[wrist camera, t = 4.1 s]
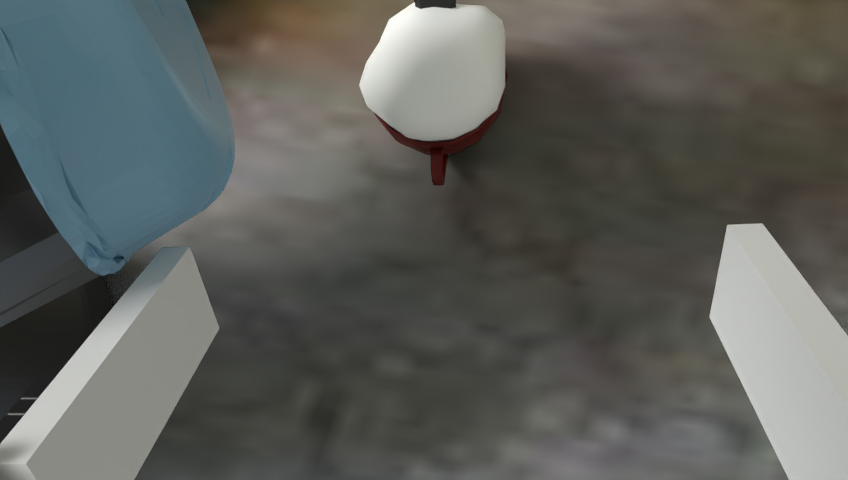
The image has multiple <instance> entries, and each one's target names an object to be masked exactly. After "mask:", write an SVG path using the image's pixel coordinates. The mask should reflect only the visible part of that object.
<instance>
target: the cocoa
mask: <svg viewBox="0 0 848 480" xmlns="http://www.w3.org/2000/svg"><path fill="white" fill-rule="evenodd" d="M414 1H415V3H412V4H411V5H409V6H408V7H407V8H405V9H404V10H402V11H401V12H399V13H398V14H396V15H395V16H393V17H392V18H391V19H389V21H388V23H387V26H386V28H385V30H384V33H383V35H382V37H381V39H380V42H379V43H378V45H377V47H376V48H375V50H374V51H373V53H372V54H371V56H370V57H369V59H368V61H367V62H366V65H365V68H364V71H363V74H362V78H361V81H360V84H359V86H360V89H361V91H362V94H363V97H364V100H365V103H366V105H367V107H369V108H370V109H371V110H372V111H373V112H374V114H375V115H376V117H377V118H378V120H379V121H380V122H381V123H382V124H383V126H384V127H385V128H386V129H387V130H388V131H389V133H390V134H391V135H392V136H393V137H394V139H395V140H396V141H398V142H399V143H401V144H403V145H406V146H408V147H410V148H413V149H415V150H417V151H420V152H422V153H424V154H427V155H431V176H432V182H433V185H443V184H444V180H445V172H446V164H447V157H448V154H455V153H457V152H459V151H461V150H463V149H465V148H467V147H469V146H471V145H473V144H475V143H477V142H478V141H479V140H480V139H481V137H482V136H483V135H484V134H485V132H486V131H487V130H488V129H489V127H490V126H491V125H492V124H493V122H494V121H495V120H496V119H497V117H498V115H499V114H500V110H501V105H502V101H503V96H504V92H505V87H506V81H507V72H506V68H505V31H504V26H503V21H502V20H501V19H500V18H498V17H497V16H496V15H495V14H494V13H493V12H491V11H490V10H489V9H488V8H487V7H486V6H479V5H464V4H457V3H456V0H414Z"/></svg>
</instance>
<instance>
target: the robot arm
mask: <svg viewBox="0 0 848 480" xmlns="http://www.w3.org/2000/svg"><path fill="white" fill-rule="evenodd" d="M234 155H235V142H234V134H233V128H232V122H231V117H230V113H229V110H228V106H227V103H226V99H225V96H224V93H223V90H222V87H221V84H220V82H219V79H218V76H217V74H216V71H215V68H214V66H213V63H212V61H211V58H210V56H209V54H208V51H207V49H206V47H205V44H204V42H203V39H202V37H201V35H200V32H199V30H198V28H197V25H196V23H195V21H194V18H193V16H192V14H191V11H190V9H189V7H188V5H187V3H186V1H185V0H0V480H134V479H135V478H136V476H137V474H138V472H139V470H140V469H141V467H142V465H143V463H144V462H145V460H146V458H147V456H148V454H149V453H150V451H151V449H152V447H153V446H154V444H155V442H156V440H157V438H158V437H159V435H160V433H161V431H162V430H163V428H164V426H165V424H166V422H167V421H168V419H169V417H170V415H171V414H172V412H173V410H174V408H175V406H176V405H177V403H178V401H179V399H180V398H181V396H182V394H183V392H184V390H185V389H186V387H187V385H188V383H189V382H190V380H191V378H192V376H193V374H194V373H195V371H196V369H197V367H198V366H199V364H200V362H201V360H202V358H203V357H204V355H205V353H206V351H207V350H208V348H209V346H210V344H211V342H212V341H213V339H214V337H215V335H216V334H217V332H218V330H219V325H218V323H217V320H216V317H215V314H214V312H213V309H212V306H211V303H210V301H209V298H208V295H207V292H206V290H205V287H204V284H203V281H202V279H201V276H200V273H199V270H198V268H197V265H196V262H195V259H194V257H193V254H192V251H191V248H190V247H167V248H161V250H160V251H159V252H158V253H157V255H156V256H155V257H154V258H153V259H152V261H151V262H150V263H149V264H148V265H147V267H146V268H145V269H144V270H143V271H142V273H141V274H140V275H139V276H138V278H137V279H136V280H135V281H134V282H133V284H132V285H131V286H130V287H129V288H128V290H127V291H126V292H125V293H124V295H123V296H122V297H121V298H120V299H119V301H118V302H117V303H116V304H115V305H114V307H112V303H111V299H110V296H109V293H108V290H107V287H106V285H105V282H104V280H103V278H102V276H105V275H107V274H109V273H110V274H113V273H115V272H117V271H119V270H120V269H121V268H122V267H123V266H124V265H125V264H126V263H127V262H128V261H129V260H130V257H131V254H132V253H133V252H135V251H137V250H138V249H140V248H142V247H143V246H145V245H147V244H148V243H150V242H152V241H153V240H155V239H157V238H159V237H160V236H162V235H164V234H165V233H167V232H169V231H170V230H172V229H174V228H175V227H177V226H179V225H180V224H182V223H184V222H185V221H187V220H189V219H190V218H192V217H194V216H195V215H197V214H199V213H200V212H202V211H204V210H205V209H206V208H207V207H208V206H209V205H210V204H211V203H212V202H213V201H214V200H215V199H217V198H218V197H219V195H220V194H221V192H222V191H223V190H224V188H225V186H226V184H227V182H228V179H229V177H230V175H231V172H232V167H233V163H234ZM101 275H102V276H101ZM709 317H710V319H711V322H712V324H713V326H714V328H715V330H716V332H717V334H718V336H719V338H720V340H721V342H722V344H723V346H724V348H725V350H726V352H727V354H728V356H729V358H730V360H731V362H732V364H733V366H734V369H735V371H736V373H737V375H738V377H739V379H740V381H741V383H742V385H743V387H744V389H745V391H746V393H747V395H748V397H749V399H750V401H751V403H752V405H753V407H754V409H755V411H756V414H757V416H758V418H759V420H760V422H761V424H762V426H763V428H764V430H765V432H766V434H767V436H768V438H769V440H770V442H771V444H772V446H773V448H774V450H775V452H776V454H777V456H778V459H779V461H780V463H781V465H782V467H783V469H784V471H785V473H786V475H787V477H788V479H789V480H848V336H847V334H846V333H845V332H844V330H843V329H842V328H841V326H840V325H839V324H838V323H837V321H836V320H835V319H834V317H833V316H832V315H831V313H830V312H829V311H828V309H827V308H826V307H825V305H824V304H823V303H822V301H821V300H820V299H819V297H818V296H817V295H816V294H815V292H814V291H813V290H812V288H811V287H810V286H809V284H808V283H807V282H806V280H805V279H804V278H803V276H802V275H801V274H800V272H799V271H798V270H797V268H796V267H795V266H794V265H793V263H792V262H791V261H790V259H789V258H788V257H787V255H786V254H785V253H784V251H783V250H782V249H781V247H780V246H779V245H778V243H777V242H776V241H775V239H774V238H773V237H772V235H771V234H770V233H769V232H768V230H767V229H766V228H765V226H764V225H763V224H762V223H759V224H734V225H727V229H726V234H725V239H724V244H723V249H722V254H721V260H720V265H719V270H718V275H717V280H716V285H715V291H714V296H713V301H712V306H711V311H710V316H709Z"/></svg>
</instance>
